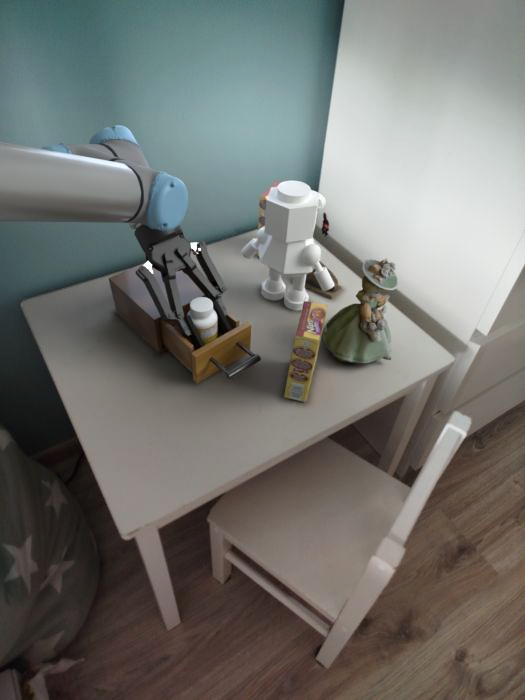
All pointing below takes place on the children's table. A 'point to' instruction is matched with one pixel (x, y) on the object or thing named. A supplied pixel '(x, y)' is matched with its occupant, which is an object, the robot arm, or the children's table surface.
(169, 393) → the children's table surface
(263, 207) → the candy box
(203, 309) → the supplement bottle
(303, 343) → the candy box
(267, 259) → the robot toy
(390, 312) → the children's table surface
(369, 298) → the figurine
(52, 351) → the children's table surface
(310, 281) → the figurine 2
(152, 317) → the cabinet
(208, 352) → the drawer
